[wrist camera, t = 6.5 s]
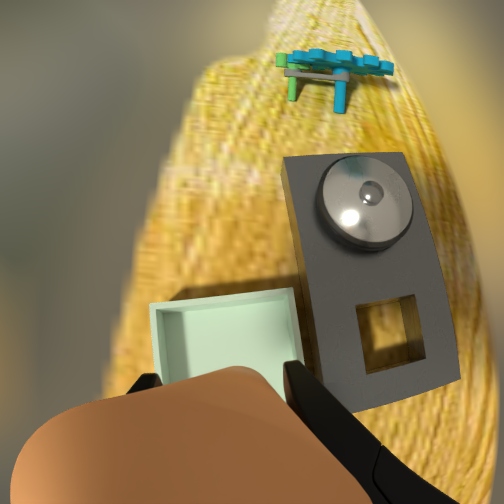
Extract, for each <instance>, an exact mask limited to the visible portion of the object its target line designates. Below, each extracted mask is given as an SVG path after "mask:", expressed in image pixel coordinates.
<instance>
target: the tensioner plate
mask: <svg viewBox="0 0 504 504" xmlns="http://www.w3.org/2000/svg"><path fill="white" fill-rule="evenodd" d="M281 180H282V185H283V190H284V195H285V200H286V205H287V210H288V215H289V221H290V226H291V231H292V237H293V242H294V248H295V253H296V259H297V265H298V270H299V276H300V282H301V288H302V294H303V300H304V306H305V312H306V319H307V325H308V331H309V338H310V345H311V351H312V358H313V365H314V372H315V377H316V378H317V379H318V380H319V381H320V382H321V383H322V384H323V385H324V386H325V387H326V388H327V389H328V390H329V391H330V392H331V393H332V394H333V395H334V396H335V397H336V398H337V399H338V400H339V401H340V402H341V403H342V404H343V405H344V406H345V407H346V408H347V409H348V411H349V412H350V413H351V414H352V413H356V412H360V411H364V410H368V409H371V408H375V407H379V406H382V405H386V404H389V403H393V402H396V401H399V400H403V399H406V398H409V397H412V396H415V395H418V394H421V393H424V392H427V391H430V390H433V389H435V388H438V387H441V386H444V385H446V384H449V383H452V382H454V381H457V380H459V379H461V376H460V367H459V360H458V352H457V346H456V339H455V333H454V327H453V322H452V316H451V311H450V306H449V301H448V297H447V292H446V288H445V283H444V279H443V275H442V271H441V267H440V263H439V259H438V256H437V252H436V248H435V245H434V241H433V238H432V234H431V231H430V228H429V225H428V221H427V218H426V215H425V212H424V209H423V206H422V203H421V200H420V197H419V194H418V192H417V189H416V186H415V183H414V181H413V178H412V175H411V173H410V170H409V167H408V165H407V162H406V160H405V157H404V155H403V152H376V153H344V154H323V155H306V156H292V157H283V163H282V169H281ZM396 301H400V306H401V311H402V316H403V321H404V327H405V333H406V338H407V345H408V351H409V358H410V360H407V361H404V362H400V363H396V364H392V365H389V366H385V367H381V368H377V369H373V370H369V371H366V370H365V363H364V356H363V350H362V343H361V337H360V331H359V325H358V320H357V314H356V309H360V308H365V307H371V306H376V305H381V304H386V303H391V302H396Z"/></svg>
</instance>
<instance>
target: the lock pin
mask: <svg viewBox="0 0 504 504" xmlns="http://www.w3.org/2000/svg"><path fill="white" fill-rule="evenodd" d="M11 504H373V503H372V501H371V499H370V497H369V496H368V494H367V493H366V492H365V491H364V489H363V488H362V487H361V485H360V484H359V483H358V481H357V480H356V479H355V478H354V477H353V476H352V475H351V474H350V473H349V471H348V470H347V469H346V468H345V467H344V466H343V465H342V464H341V463H340V462H339V461H338V460H337V459H336V458H335V457H334V456H333V455H332V454H331V452H330V451H329V450H328V449H327V448H326V447H325V446H324V445H323V444H322V443H321V442H320V441H319V439H318V438H317V437H316V436H315V435H314V434H313V433H312V432H311V431H310V430H309V428H308V427H307V426H306V425H305V424H304V423H303V422H302V421H301V419H300V418H299V417H298V416H297V415H296V414H295V413H294V412H293V410H292V409H291V408H290V407H289V406H288V405H287V403H286V402H285V401H284V400H283V399H282V398H281V397H280V395H279V394H278V393H277V392H276V391H275V389H274V388H273V387H272V386H271V385H270V384H269V382H268V381H267V380H266V379H265V378H264V377H263V376H262V375H261V374H260V373H259V372H257V371H256V370H254V369H251V368H249V367H245V366H230V367H226V368H223V369H220V370H216V371H213V372H210V373H206V374H203V375H199V376H196V377H192V378H189V379H185V380H182V381H178V382H174V383H171V384H167V385H163V386H159V387H155V388H151V389H147V390H143V391H139V392H135V393H131V394H126V395H122V396H117V397H113V398H108V399H103V400H99V401H94V402H89V403H86V404H83V405H80V406H77V407H74V408H72V409H68V410H67V411H65V412H63V413H61V414H59V415H57V416H55V417H53V418H51V419H50V420H49V421H48V422H46V423H45V424H44V425H42V426H41V427H40V428H39V429H37V430H36V431H35V433H34V434H33V435H32V436H31V437H30V438H29V440H28V441H27V442H26V443H25V445H24V447H23V448H22V450H21V452H20V454H19V456H18V458H17V460H16V464H15V467H14V470H13V473H12V481H11Z"/></svg>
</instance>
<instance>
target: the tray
mask: <svg viewBox="0 0 504 504" xmlns="http://www.w3.org/2000/svg"><path fill="white" fill-rule="evenodd" d="M149 308H150V323H151V336H152V347H153V358H154V367H155V373H157V374H158V375H159V376H160V378H161V381H162V384H163V385H167V384H171V383H174V382H178V381H182V380H185V379H189V378H192V377H196V376H199V375H203V374H206V373H210V372H213V371H216V370H220V369H223V368H226V367H230V366H245V367H249V368H251V369H254V370H256V371H257V372H259V373H260V374H261V375H262V376H263V377H264V378H265V379H266V380H267V381H268V382H269V384H270V385H271V386H272V387H273V388H274V389H275V391H276V392H277V393H278V394H279V395H280V397H281V398H282V399H283V400H284V401H285V402H286V399H285V393H284V387H283V363H284V362H285V361H291V360H299V361H301V362H302V363H303V364H304V357H303V350H302V343H301V336H300V330H299V323H298V317H297V310H296V304H295V298H294V292H293V287H288V288H280V289H273V290H265V291H257V292H249V293H241V294H233V295H224V296H216V297H207V298H198V299H188V300H179V301H169V302H159V303H149ZM304 365H305V364H304Z"/></svg>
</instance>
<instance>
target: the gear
mask: <svg viewBox="0 0 504 504" xmlns="http://www.w3.org/2000/svg"><path fill="white" fill-rule="evenodd" d="M352 53H353V52H351V51H345V50H336V54H335V53H331V52H327V51H325V50H322V49H309V52H305V51H298V50H295V51H293V54H288V61H287V54H286V53H276V67H286V68H288V69H284V76H285V77H289V85H288V100H290V101H296V82H297V78H307V79H318V80H328V81H335V97H334V112H337V113H344V111H345V96H346V82H350V72H351V73H354V74H357V75H367V74H371V75H375V76H384V74H385V75H391V76H393V72H394V64H393V63H391V62H388V61H379V57H376V56H371V55H363V58H360V57H355V56H353V55H352ZM287 62H288V63H287ZM310 66H312V69H314V70H325V69H331V70H333V73H332V75H325V74H315V73H302V70H310ZM299 69H301V70H299Z"/></svg>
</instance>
